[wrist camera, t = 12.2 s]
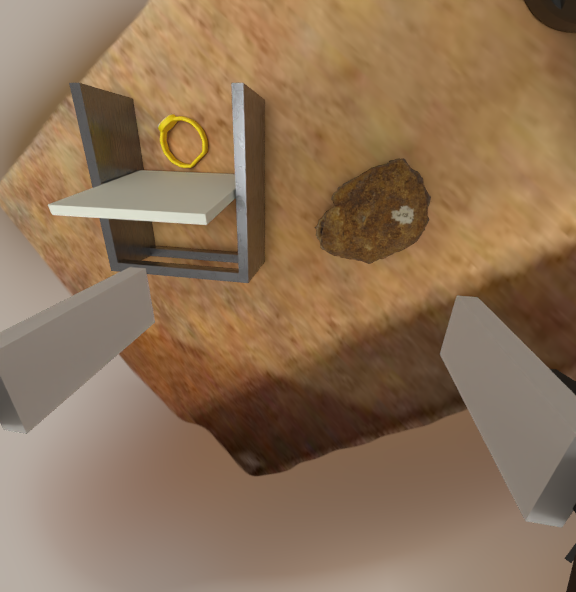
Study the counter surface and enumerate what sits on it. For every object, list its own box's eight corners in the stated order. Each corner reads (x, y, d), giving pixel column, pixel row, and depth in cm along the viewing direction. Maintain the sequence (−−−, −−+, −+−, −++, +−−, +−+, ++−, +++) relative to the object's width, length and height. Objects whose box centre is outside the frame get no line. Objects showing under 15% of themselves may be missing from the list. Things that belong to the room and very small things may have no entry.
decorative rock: (342, 276, 46) (438, 220, 41) (344, 287, 42) (449, 226, 37) (300, 213, 42) (399, 143, 38) (298, 219, 39) (407, 142, 34)
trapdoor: (251, 182, 41) (251, 174, 40) (206, 224, 28) (205, 214, 27) (142, 177, 43) (140, 170, 42) (52, 214, 30) (47, 204, 29)
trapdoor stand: (264, 99, 38) (243, 82, 29) (264, 261, 46) (248, 283, 38) (124, 98, 40) (69, 82, 32) (149, 252, 49) (111, 270, 41)
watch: (217, 146, 41) (186, 104, 39) (211, 148, 39) (178, 103, 37) (187, 173, 43) (156, 134, 41) (179, 176, 41) (146, 135, 39)
